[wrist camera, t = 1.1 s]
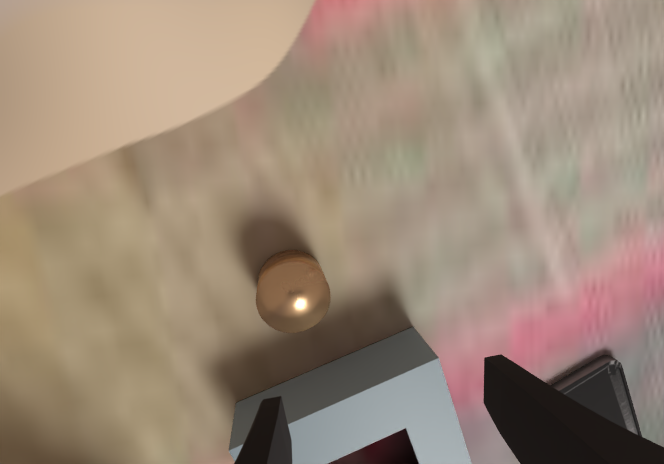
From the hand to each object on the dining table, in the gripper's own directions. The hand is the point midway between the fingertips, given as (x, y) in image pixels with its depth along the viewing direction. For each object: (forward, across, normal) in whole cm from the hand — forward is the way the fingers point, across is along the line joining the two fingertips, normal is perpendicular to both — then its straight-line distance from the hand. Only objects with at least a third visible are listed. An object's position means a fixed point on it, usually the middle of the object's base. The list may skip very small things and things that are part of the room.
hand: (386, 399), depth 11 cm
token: (+12, +4, +1) cm, 12 cm away
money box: (+11, +1, +14) cm, 18 cm away
